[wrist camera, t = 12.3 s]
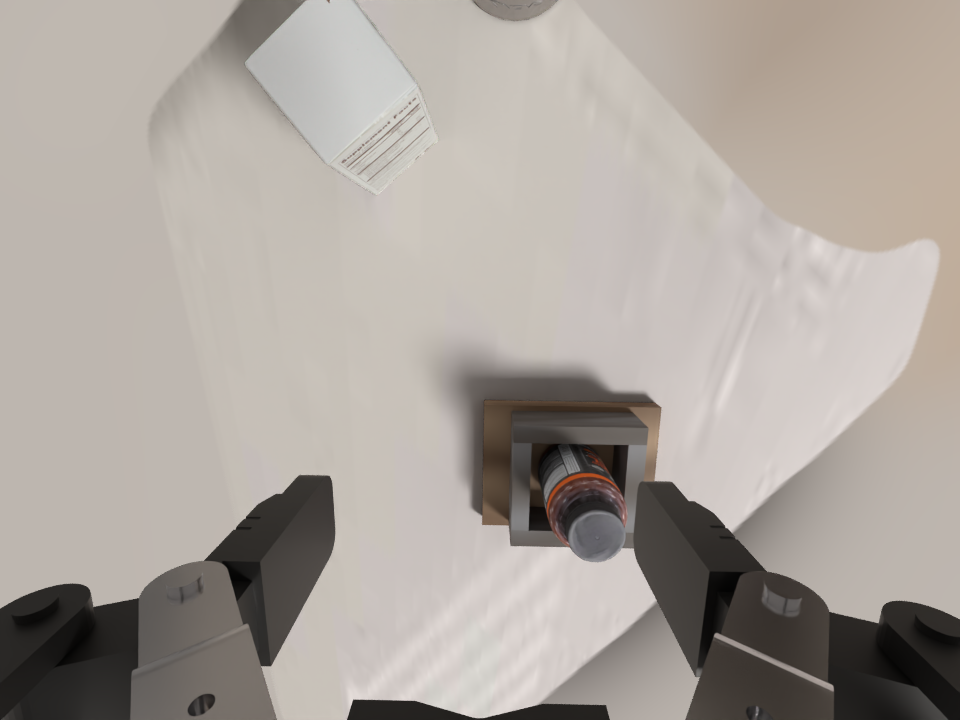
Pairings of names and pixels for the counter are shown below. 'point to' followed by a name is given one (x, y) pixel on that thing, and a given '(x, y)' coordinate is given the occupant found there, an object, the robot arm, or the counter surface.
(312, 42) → the supplement box
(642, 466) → the socket stand
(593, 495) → the supplement bottle
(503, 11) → the robot arm
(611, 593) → the counter surface
